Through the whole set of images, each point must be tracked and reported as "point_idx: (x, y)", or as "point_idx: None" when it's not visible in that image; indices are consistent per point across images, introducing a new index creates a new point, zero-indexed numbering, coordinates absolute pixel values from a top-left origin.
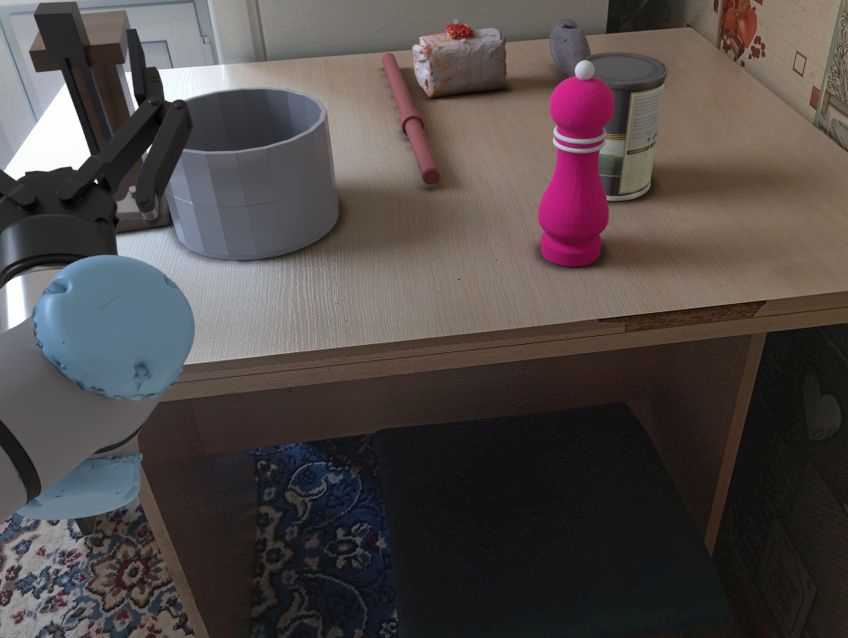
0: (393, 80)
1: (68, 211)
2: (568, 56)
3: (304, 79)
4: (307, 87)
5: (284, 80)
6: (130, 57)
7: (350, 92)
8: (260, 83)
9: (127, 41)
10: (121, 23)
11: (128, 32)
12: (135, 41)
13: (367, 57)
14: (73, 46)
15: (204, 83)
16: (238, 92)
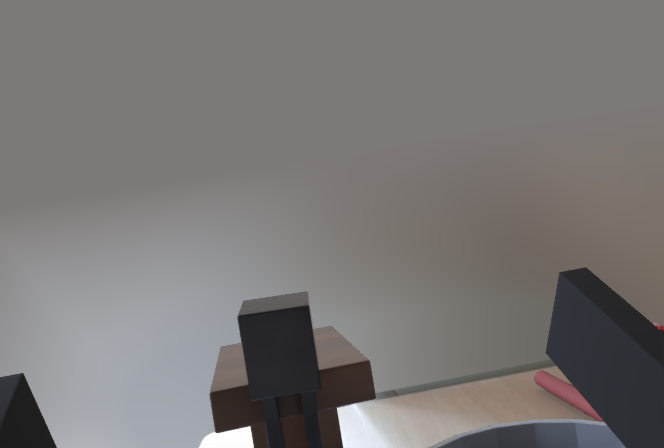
0: (582, 398)
1: None
2: None
3: (454, 409)
4: (465, 418)
5: (432, 413)
6: (642, 343)
7: (523, 419)
8: (406, 419)
9: (589, 300)
10: (342, 338)
11: (573, 278)
12: (612, 298)
13: (504, 379)
14: (301, 371)
15: (343, 426)
16: (491, 432)
